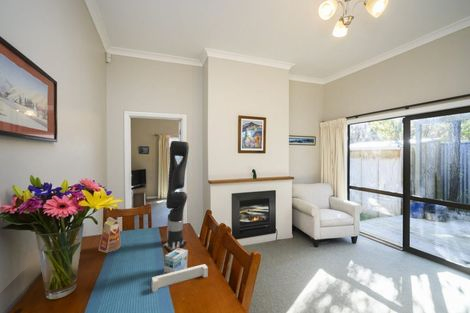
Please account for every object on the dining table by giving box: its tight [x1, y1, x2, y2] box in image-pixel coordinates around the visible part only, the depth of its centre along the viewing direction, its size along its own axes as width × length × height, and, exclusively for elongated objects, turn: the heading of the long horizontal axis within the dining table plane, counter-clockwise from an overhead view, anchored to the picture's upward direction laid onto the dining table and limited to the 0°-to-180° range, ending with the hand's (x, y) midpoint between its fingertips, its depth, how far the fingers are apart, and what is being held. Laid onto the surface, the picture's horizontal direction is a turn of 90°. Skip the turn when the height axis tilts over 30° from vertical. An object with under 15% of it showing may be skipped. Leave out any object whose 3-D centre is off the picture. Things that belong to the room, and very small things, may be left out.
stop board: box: [151, 263, 209, 293], centre depth 95 cm, size 4×26×4 cm, turn 121°
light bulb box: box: [163, 248, 189, 274], centre depth 102 cm, size 11×7×11 cm, turn 156°
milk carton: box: [98, 216, 121, 254], centre depth 127 cm, size 9×9×20 cm
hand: (174, 260), depth 107 cm, fingers closed
